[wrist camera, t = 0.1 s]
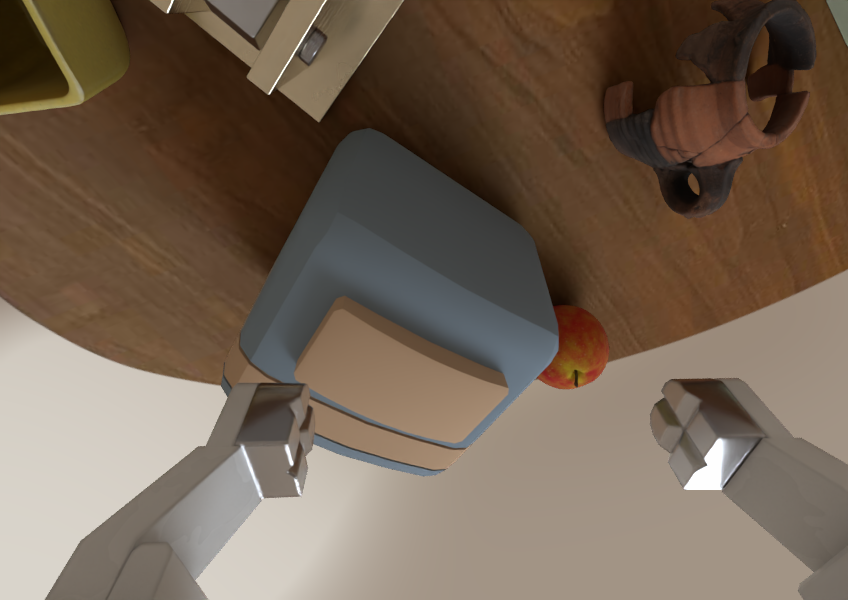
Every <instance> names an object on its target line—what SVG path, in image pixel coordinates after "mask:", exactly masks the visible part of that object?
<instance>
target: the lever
mask: <svg viewBox="0 0 848 600" xmlns="http://www.w3.org/2000/svg"><path fill="white" fill-rule="evenodd" d="M204 1H205V3H206V4H207V5H208V7H209V8H210V10H211V11H212V12H213V13H214V14H215V15H216V16H218V17H219V18H220V19H221V20H222V21H224V22H225V23H226V24H227V25H228V26H230V27H231V28H232V29H233V30H234V31H236V32H237V33H238V34H239V35H240V36H242V37H243V38H244V39H245V40H246V41H248V42H249V43H250V44H251V45H252V46H254V47H255V48H256V49H257V50H259V51H260V50H261V49H262V48H263V46H264V45H265V43H266V41H267V39H268V37H269V36H270V34H271V32H272V30H273V29H274V27H275V25H276V23H277V22H278V20H279V18H280V16H281V15H282V13H283V11H284V9H285V7H286V6H287V4H288V2H289V0H204Z"/></svg>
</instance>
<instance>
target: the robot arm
mask: <svg viewBox="0 0 848 600" xmlns="http://www.w3.org/2000/svg"><path fill="white" fill-rule="evenodd" d="M662 393H663V395H664V398H663V399H661V400H660V401H658V402H657V403H656V404H655V405H654V407H653V409H652V411H651V414H650V426H651V429H652V432H653V435H654V437H655V439H656V441H657V443H658V444H659V445H660V446H661V447H662V448H664V449H665V450H667V451H668V452H669V453H670V456H669V460H668V463H669V464H670V466H671V468H672V470H673V471H674V473H675V475H676V477H677V478H678V480H679V482H680V484H681V485H682V487H683V489H699V490H700V489H701V490H704V489H705V490H709V489H710V490H712V489H713V490H722V492H723V493H724V494H725V495H726V496H727V497H728V498H729V499H731V500H732V501H733V502H734V503H735V504H736V505H738V506H739V507H740V508H741V509H742V510H743V511H744V512H746V513H747V514H748V515H749V516H750V517H751V518H752V519H754V520H755V521H756V522H757V523H758V524H759V525H760V526H762V527H763V528H764V529H765V530H766V531H767V532H769V533H770V534H771V535H772V536H773V537H774V538H775V539H777V540H778V541H779V542H780V543H782V545H784V546H785V547H786V548H787V549H788V550H789V551H790V552H792V553H793V554H794V555H795V556H796V557H797V558H799V559H800V560H801V561H802V562H803V563H804V564H805V565H806V566H808V567H809V568H810V569H811V570H812V571H813V572H814V573H813V574H812V575H810V576H809V577H808V578H807V579H805V580H804V581H803V582H802V583H800V586H799V589H798V592H799V593H800V595H801V596H802V598H803V599H804V600H848V465H847V464H845V463H844V462H842V461H841V460H839V459H837V458H835V457H834V456H832V455H830V454H828V453H827V452H825V451H823V450H822V449H820V448H818V447H816V446H814V445H813V444H811V443H809V442H807V441H806V440H804V439H802V438H794V437H793V436H792V435H791V434H790V433H789V431H788V430H787V429H786V428H785V427H784V426H783V424H781V422H780V421H779V420H778V419H777V418H776V417H775V415H774V414H773V413H772V412H771V411H770V410H769V409H768V407H767V406H766V405H765V404H764V403H763V402H762V401H761V400H760V398H759V397H758V396H757V395H756V394H755V393H754V392H753V390H752V389H751V388H750V387H749V386H748V385H747V384H746V383H745V382H744V381H742V380H740V379H739V378H726V379H725V378H719V379H718V378H717V379H710V378H709V379H671V380H669V381H668V382H666V383H665V385H664V387H663V388H662ZM310 395H311V394H310V390H309V386H308V384H306V383H237V384H236V385H235V386H234V387H233V388H232V390H231V392H230V394H229V396H228V398H227V401H226V403H225V405H224V407H223V409H222V411H221V414H220V416H219V418H218V420H217V422H216V425H215V427H214V429H213V431H212V434H211V436H210V438H209V440H208V442H207V445H206V446H200V447H197V448H196V449H195V450H193V451H192V452H191V453H190V454H189V455H187V456H186V457H185V458H183V459H182V460H181V461H180V462H179V463H177V464H176V465H175V466H173V467H172V468H171V469H170V470H169V471H167V472H166V473H165V474H163V475H162V476H161V477H160V478H158V480H156V481H155V482H153V483H152V484H151V485H150V486H149V487H147V488H146V489H145V490H144V491H142V492H141V493H140V494H139V495H137V496H136V497H135V498H134V499H132V500H131V501H130V502H129V503H127V504H126V505H125V506H124V507H122V508H121V509H120V510H119V511H117V512H116V513H115V514H114V515H112V516H111V517H110V518H109V519H108V520H106V521H105V522H104V523H102V524H101V525H100V526H99V527H97V528H96V529H95V530H94V531H92V532H91V533H90V534H89V535H88V536H86V537H85V538H84V539H82V540H81V541H80V543H79V544H78V546H77V548H76V550H75V551H74V553H73V554H72V556H71V558H70V559H69V561H68V562H67V564H66V566H65V567H64V569H63V571H62V572H61V574H60V576H59V577H58V579H57V581H56V582H55V584H54V586H53V587H52V589H51V590H50V592H49V594H48V595H47V597H46V599H45V600H208V598H207V597H206V595H205V594H204V593H203V591H202V590H201V588H200V587H199V585H198V584H197V583H196V581H195V580H196V579H197V578H198V576H199V575H200V574H201V573H202V572H203V570H204V569H205V568H206V567H207V566H208V564H209V563H210V562H211V561H212V560H213V558H214V557H215V556H216V555H217V554H218V552H219V551H220V550H221V549H222V547H223V546H224V545H225V544H226V543H227V542H228V540H229V539H230V538H231V537H232V535H233V534H234V533H235V532H236V531H237V530H238V528H239V527H240V526H241V525H242V524H243V522H244V521H245V520H246V519H247V518H248V516H249V515H250V514H251V513H252V511H253V510H254V509H255V508H256V507H257V506H258V504H259V503H260V502H261V498H276V497H298V496H302V493H303V488H304V483H305V479H306V475H307V470H308V466H307V462H306V457H305V456H306V455H307V454H308V453H309V452H310V451H311V450H312V446H313V441H314V434H315V415H314V409H313V407H311V406H310V405H309V404H308V403H309V399H310Z"/></svg>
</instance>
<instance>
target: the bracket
mask: <svg viewBox="0 0 848 600" xmlns="http://www.w3.org/2000/svg"><path fill="white" fill-rule="evenodd" d="M149 1H151V2H152V3H153V4H155V5H156V6H157V7H158V8H160V9H161V10H162V11H163V12H165V13H166V14H179V13H184V14H185V15H186V16H188V17H189V18H190V19H191V20H193V21H194V22H195V23H196V24H197V25H199V26H200V27H201V28H202V29H204V30H205V31H206V32H207V33H209V34H210V35H211V36H212V37H214V38H215V39H216V40H217V41H219V42H220V43H221V44H222V45H223V46H225V47H226V48H227V49H228V50H230V51H231V52H232V53H233V54H235V55H236V56H237V57H238V58H240V59H241V60H242V61H243V62H244V63H246V64H247V65H248V66H249V67H251V69H250V71H249V73H248V75H247V79H249V80H250V81H251V82H252V83H254V84H255V85H256V86H257V87H259V88H260V89H261V90H262V91H264V92H265V93H266V94H267V95H270V94H272V93H273V92H275V91H276V90H277V89H278V90H279V91H280V92H282V93H283V94H284V95H285V96H287V97H288V98H289V99H290V100H291V101H293V102H294V103H295V104H296V105H298V106H299V107H300V108H301V109H303V110H304V111H305V112H306V113H308V114H309V115H310V116H311V117H313V118H314V119H315V120H316V121H317V122H319V123H320V121H321V120H322V119H323V117H324V116H325V114H326V113H327V111H328V110H329V108H330V107H331V106H332V104H333V103H334V101H335V100H336V98H337V97H338V95H339V94H340V92H341V91H342V90H343V88H344V87H345V85H346V84H347V82H348V81H349V79H350V78H351V77H352V75H353V74H354V72H355V71H356V69H357V68H358V66H359V65H360V63H361V62H362V61H363V59H364V58H365V56H366V55H367V53H368V52H369V50H370V49H371V48H372V46H373V45H374V43H375V42H376V40H377V39H378V37H379V36H380V35H381V33H382V32H383V30H384V29H385V27H386V26H387V24H388V23H389V21H390V20H391V19H392V17H393V16H394V14H395V13H396V11H397V10H398V8H399V7H400V6H401V4H402V3H403V1H404V0H289V2H288V4H287V6H286V7H285V9H284V11H283V13H282V15H281V16H280V18H279V20H278V22H277V23H276V25H275V27H274V29H273V30H272V32H271V34H270V36H269V37H268V39H267V41H266V43H265V45H264V46H263V48H262V49H261V50H260V51H259V50H257V49H256V48H255V47H254V46H252V45H251V44H250V43H249V42H248V41H246V40H245V39H244V38H243V37H242V36H240V35H239V34H238V33H237V32H236V31H234V30H233V29H232V28H231V27H230V26H228V25H227V24H226V23H225V22H224V21H222V20H221V19H220V18H219V17H218V16H216V15H215V14H214V13H213V12H212V11H211V10H210V8H209V7H208V5H207V4H206V3H205V1H204V0H149Z"/></svg>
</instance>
